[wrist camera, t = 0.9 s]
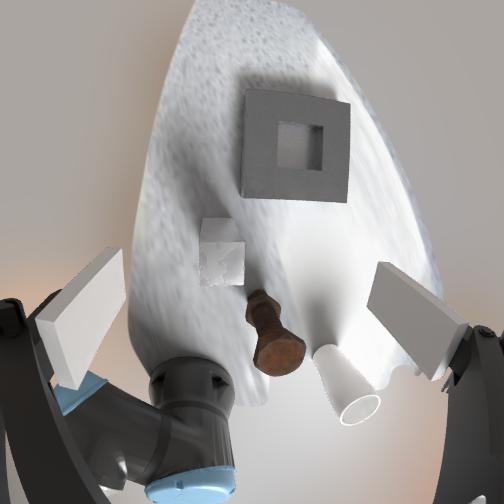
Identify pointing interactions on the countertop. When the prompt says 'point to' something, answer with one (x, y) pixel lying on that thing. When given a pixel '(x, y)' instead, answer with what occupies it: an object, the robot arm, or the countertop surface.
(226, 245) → the peg
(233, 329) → the countertop surface
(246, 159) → the socket block
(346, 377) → the drinking glass
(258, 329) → the bolt
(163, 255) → the countertop surface
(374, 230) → the countertop surface
